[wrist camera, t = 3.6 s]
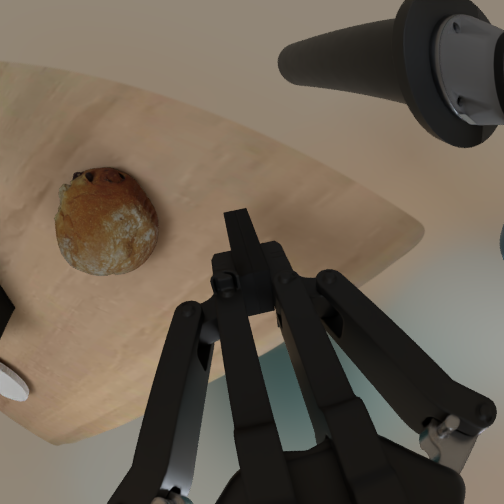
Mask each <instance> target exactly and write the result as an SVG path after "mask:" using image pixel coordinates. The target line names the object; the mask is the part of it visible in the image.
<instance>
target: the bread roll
mask: <svg viewBox="0 0 504 504" xmlns="http://www.w3.org/2000/svg"><path fill="white" fill-rule="evenodd" d="M59 198H60V206H59V208H58V213H57V214H56V215H55V218H54V219H55V228H56V237H57V241H58V245H59V248H60V251H61V254H62V255H63V257H64V258H65V259H66V261H67V262H68V263H69V264H70V265H71V266H72V267H73V268H75V269H77V270H80V271H82V272H85V273H88V274H91V275H96V276H108V275H111V274H113V273H114V274H115V275H118V274H125V273H128V272H130V271H133V270H135V269H137V268H138V267H139V266H141V265H142V264H143V263H144V262H145V261H146V260H147V259H148V257H149V256H150V255H151V253H152V252H153V250H154V248H155V245H156V243H157V238H158V219H157V214H156V211H155V209H154V207H153V205H152V204H151V201H150V199H149V198H148V197H147V196H146V194H145V192H144V191H143V190H142V188H141V187H140V185H139V184H138V183H137V182H136V181H135V179H133V178H131V177H130V176H129V175H128V174H126V173H123V172H120V171H117V170H115V169H113V168H94V169H90V170H87V171H85V172H76V173H74V176H73V180H72V181H71V185H68V184H63V185H62V187H61V188H59Z"/></svg>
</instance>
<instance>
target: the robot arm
mask: <svg viewBox="0 0 504 504" xmlns="http://www.w3.org/2000/svg"><path fill="white" fill-rule="evenodd" d="M429 61H430V68H431V73H432V78H433V81H434V84H435V87H436V90H437V92H438V94H439V96H440V98H441V100H442V102H443V103H444V105H445V106H446V108H447V109H448V110H449V111H450V112H451V113H452V114H453V115H454V116H455V117H457V118H458V119H460V120H462V121H465V122H468V123H469V124H473V125H504V30H502V29H500V28H498V27H496V26H493V25H491V24H489V23H487V22H484V21H482V20H479V19H477V18H474V17H472V16H469V15H465V14H450V15H446V16H444V17H442V18H441V19H440V20H439V21H438V22H437V23H436V24H435V26H434V28H433V31H432V34H431V37H430V44H429ZM223 214H224V218H225V223H226V228H227V233H228V238H229V243H230V247H231V251H227V252H222V253H217V254H214V256H213V258H212V260H211V261H212V270H213V276H212V277H211V280H210V282H211V286H212V289H213V292H214V294H213V296H212V297H211V298H210V299H209V300H207V301H205V302H203V303H201V304H200V303H198V302H196V301H186V302H184V303H181V304H180V305H179V306H178V307H177V308H176V310H175V312H174V315H173V318H172V321H171V324H170V328H169V331H168V334H167V337H166V340H165V344H164V347H163V350H162V354H161V357H160V360H159V364H158V367H157V371H156V374H155V377H154V381H153V385H152V388H151V392H150V395H149V399H148V403H147V406H146V410H145V414H144V418H143V422H142V426H141V429H140V433H139V437H138V442H137V446H136V450H135V454H134V459H133V463H132V467H131V468H130V470H129V471H128V473H127V475H126V476H125V477H124V479H123V480H122V482H121V483H120V485H119V486H118V488H117V489H116V491H115V492H114V494H113V495H112V497H111V498H110V500H109V501H108V503H107V504H193V503H192V501H191V500H190V499H189V498H187V496H188V493H189V490H190V487H191V484H192V480H193V475H194V468H195V461H196V455H197V447H198V441H199V435H200V428H201V422H202V415H203V409H204V403H205V397H206V391H207V385H208V379H209V373H210V367H211V361H212V355H213V350H214V342H216V341H218V340H220V342H221V349H222V355H223V362H224V368H225V375H226V381H227V387H228V393H229V399H230V405H231V411H232V417H233V422H234V440H235V445H236V451H237V456H238V461H239V466H240V469H239V470H238V471H237V472H236V473H235V474H234V475H233V476H232V478H231V479H230V480H229V482H228V483H227V485H226V487H225V488H224V490H223V492H222V493H221V495H220V497H219V498H218V500H217V501H216V503H215V504H464V499H465V484H464V481H463V479H462V477H461V476H460V472H461V471H462V469H463V467H464V465H465V463H466V461H467V459H468V457H469V454H470V453H471V450H472V448H473V446H474V444H475V442H476V439H477V437H478V435H479V434H480V433H481V432H482V431H484V430H485V429H487V428H488V427H489V426H490V425H491V424H493V422H494V420H495V419H496V414H497V410H496V406H495V404H494V402H493V401H492V400H490V399H489V398H487V397H485V396H483V395H481V394H479V393H477V392H475V391H473V390H471V389H469V388H467V387H465V386H463V385H461V384H459V383H457V382H455V381H453V380H452V379H451V378H450V377H449V376H448V375H447V374H446V373H445V372H444V371H443V370H442V369H441V368H440V367H439V366H438V365H437V364H436V363H435V362H434V361H433V360H432V359H431V358H430V357H429V356H428V355H427V354H426V353H425V352H424V351H423V350H422V349H421V348H420V347H419V346H418V345H417V344H416V343H415V342H414V341H413V340H412V339H411V338H410V337H409V336H408V335H407V334H406V333H405V332H404V331H403V330H402V329H401V328H399V326H397V325H396V324H395V323H394V322H393V321H392V320H391V319H390V318H389V317H388V316H387V315H386V314H385V313H384V312H383V311H382V310H380V309H379V308H378V307H377V306H376V305H375V304H374V303H373V302H372V301H371V300H370V299H369V298H367V297H366V296H365V295H364V294H363V293H362V292H361V291H360V290H359V289H358V288H357V287H355V286H354V285H353V284H352V283H351V282H350V281H349V280H348V279H347V278H345V277H344V276H343V275H342V274H341V273H340V272H338V271H336V270H332V269H326V270H323V271H321V272H319V273H318V274H317V276H316V278H305V277H301V276H299V275H298V274H297V272H295V271H293V269H292V267H291V265H290V263H289V261H288V259H287V257H286V255H285V253H284V251H283V248H282V246H281V245H280V244H279V243H278V242H276V241H271V242H266V243H261V244H260V242H259V240H258V237H257V235H256V232H255V229H254V227H253V224H252V222H251V219H250V216H249V214H248V211H247V209H246V208H244V209H239V210H234V211H229V212H224V213H223ZM500 249H501V254H502V257H503V260H504V224H503V228H502V232H501V235H500ZM274 306H275V309H276V315H277V324H278V327H280V329H281V332H282V335H283V338H284V341H285V344H286V347H287V350H288V352H289V356H290V359H291V362H292V365H293V368H294V371H295V374H296V377H297V380H298V383H299V386H300V389H301V392H302V395H303V398H304V401H305V404H306V407H307V410H308V413H309V416H310V419H311V422H312V425H313V429H314V432H315V438H316V443H317V445H316V446H315V447H313V448H311V449H309V450H306V451H283V450H282V446H281V442H280V438H279V435H278V431H277V427H276V424H275V421H274V417H273V413H272V410H271V406H270V402H269V398H268V394H267V390H266V387H265V383H264V379H263V375H262V371H261V367H260V363H259V359H258V355H257V351H256V347H255V343H254V339H253V335H252V331H251V327H250V323H249V319H248V316H252V315H257V314H261V313H265V312H270V311H274V310H275V309H274ZM325 330H326V331H327V332H328V333H329V335H330V336H331V337H332V338H333V339H334V340H335V342H336V343H337V344H338V345H339V346H340V347H341V349H342V350H343V351H344V352H345V353H346V355H347V356H348V357H349V358H350V359H351V360H352V362H353V363H354V364H355V365H356V366H357V367H358V369H359V370H360V371H361V372H362V373H363V374H364V376H365V377H366V378H367V379H368V380H369V381H370V383H371V384H372V385H373V386H374V387H375V388H376V390H377V391H378V392H379V393H380V394H381V395H382V397H383V398H384V399H385V400H386V401H387V403H388V404H389V405H390V406H391V407H392V408H393V410H394V411H395V412H396V413H397V414H398V416H399V417H400V418H401V419H402V420H403V421H404V422H405V423H406V424H407V425H408V426H409V427H410V428H411V429H412V430H414V431H415V432H416V433H418V434H420V437H419V442H420V447H421V449H422V450H425V452H426V453H427V454H428V456H429V458H430V459H428V458H426V457H424V456H422V455H419V454H417V453H415V452H413V451H411V450H409V449H407V448H405V447H403V446H401V445H399V444H397V443H394V442H393V441H391V440H389V439H387V438H385V437H383V436H380V435H378V434H377V432H376V429H375V427H374V425H373V422H372V420H371V418H370V416H369V413H368V411H367V409H366V407H365V404H364V403H363V401H362V399H360V397H357V396H356V395H355V394H354V393H353V390H352V388H351V386H350V383H349V381H348V379H347V377H346V374H345V372H344V370H343V368H342V366H341V363H340V361H339V359H338V357H337V355H336V352H335V350H334V348H333V346H332V344H331V341H330V339H329V337H328V335H327V333H326V331H325Z"/></svg>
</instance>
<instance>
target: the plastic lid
mask: <svg viewBox="0 0 504 504" xmlns="http://www.w3.org/2000/svg"><path fill="white" fill-rule="evenodd" d="M0 394H1V395H3V396H5V397H7V398H10V399H12V400H16V401H26V399H27V398H28V394H29V389H28V386H27V385H26V383H25V382H24V381H23V380H22V379H21V378H20V377H19V376H18V375H17V374H16V373H14V371H12V370H11V369H9V368H8V367H7V366H6V365H4V364H2V363H1V362H0Z"/></svg>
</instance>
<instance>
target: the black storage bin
mask: <svg viewBox="0 0 504 504" xmlns="http://www.w3.org/2000/svg"><path fill="white" fill-rule="evenodd" d="M14 309H15V306H14V305H13V303H12V302H11V301H10V299H9V298H8V296H7V295H6V293H5V291H4V290H3V288H2V287H1V285H0V338H1V336H2V334H3V332H4V330H5V327H6V325H7V323H8V321H9V319H10V317H11V315H12V313H13V311H14Z"/></svg>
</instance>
